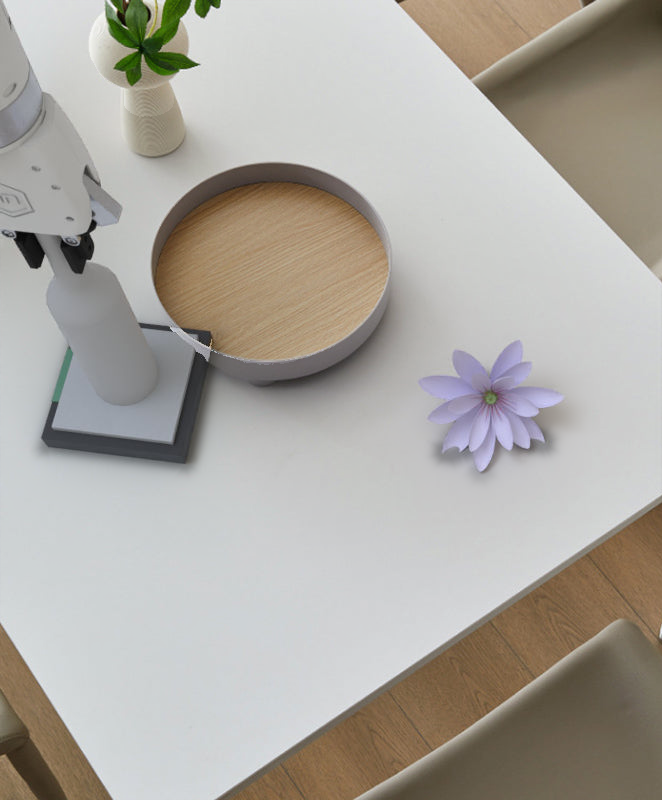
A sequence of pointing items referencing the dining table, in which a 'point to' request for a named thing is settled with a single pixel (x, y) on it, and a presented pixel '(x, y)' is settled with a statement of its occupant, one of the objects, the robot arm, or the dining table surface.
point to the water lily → (488, 403)
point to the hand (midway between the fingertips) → (61, 255)
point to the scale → (138, 423)
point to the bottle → (100, 328)
